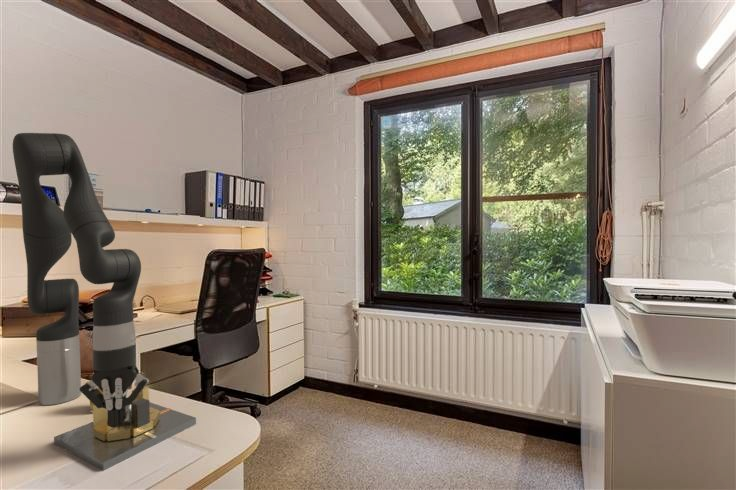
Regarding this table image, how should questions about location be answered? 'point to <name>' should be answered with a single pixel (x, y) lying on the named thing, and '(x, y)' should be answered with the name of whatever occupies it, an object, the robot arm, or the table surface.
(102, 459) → the base plate
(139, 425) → the gold octagonal ring
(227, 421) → the table surface
